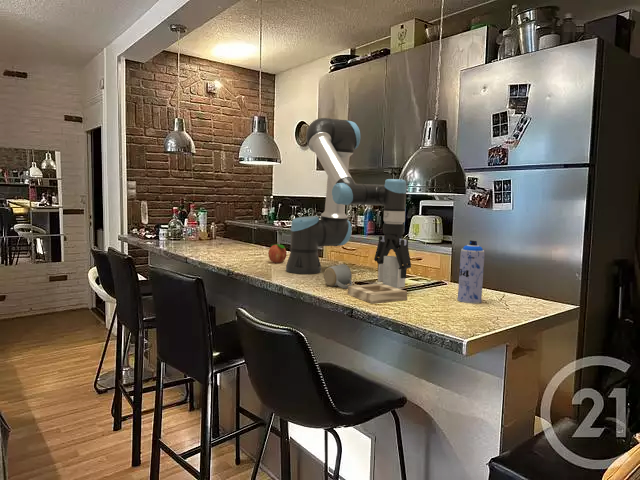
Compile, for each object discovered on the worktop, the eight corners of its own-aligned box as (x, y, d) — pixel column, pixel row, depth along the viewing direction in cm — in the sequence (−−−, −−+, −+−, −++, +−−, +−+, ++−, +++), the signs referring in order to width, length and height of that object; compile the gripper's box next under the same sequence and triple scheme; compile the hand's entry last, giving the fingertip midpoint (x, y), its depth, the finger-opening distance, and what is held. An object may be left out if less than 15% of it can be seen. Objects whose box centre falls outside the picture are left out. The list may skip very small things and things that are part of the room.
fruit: (279, 260, 230) (279, 240, 229) (290, 263, 223) (291, 242, 222) (264, 262, 225) (264, 241, 224) (275, 264, 218) (276, 243, 217)
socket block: (347, 294, 160) (348, 286, 159) (381, 291, 167) (381, 283, 166) (371, 303, 148) (372, 294, 147) (406, 299, 154) (407, 291, 154)
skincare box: (399, 291, 168) (401, 257, 166) (388, 291, 166) (390, 258, 165) (392, 287, 173) (393, 255, 172) (381, 288, 172) (383, 255, 171)
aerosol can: (452, 298, 158) (455, 239, 156) (470, 297, 161) (474, 239, 159) (468, 304, 151) (472, 242, 149) (487, 302, 154) (491, 241, 152)
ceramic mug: (321, 284, 175) (322, 264, 174) (338, 282, 180) (339, 262, 179) (340, 290, 167) (341, 269, 166) (357, 288, 172) (358, 267, 171)
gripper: (366, 220, 176) (363, 279, 178) (406, 225, 156) (403, 291, 158) (382, 220, 179) (379, 277, 182) (424, 225, 159) (420, 289, 161)
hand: (390, 284), depth 170 cm, fingers open, 11 cm apart
